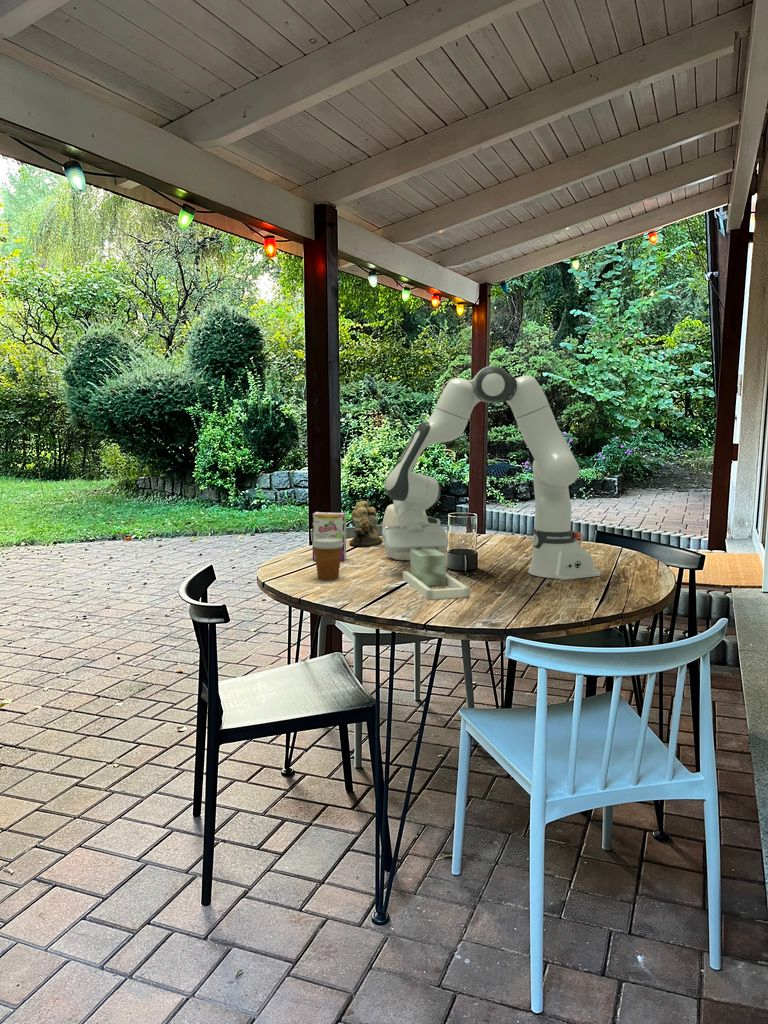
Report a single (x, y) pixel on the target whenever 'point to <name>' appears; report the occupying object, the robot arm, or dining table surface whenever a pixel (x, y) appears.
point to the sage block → (428, 566)
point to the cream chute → (453, 592)
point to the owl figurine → (365, 526)
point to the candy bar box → (330, 528)
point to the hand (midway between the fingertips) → (420, 562)
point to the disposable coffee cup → (327, 557)
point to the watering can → (391, 521)
